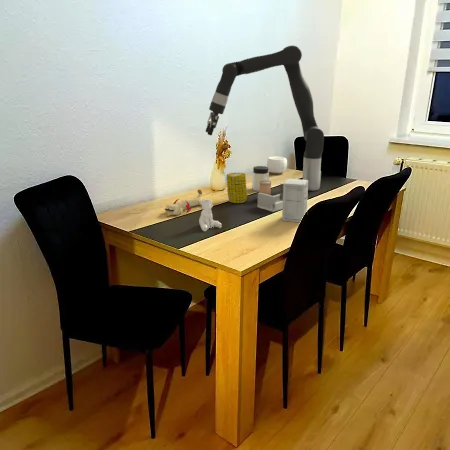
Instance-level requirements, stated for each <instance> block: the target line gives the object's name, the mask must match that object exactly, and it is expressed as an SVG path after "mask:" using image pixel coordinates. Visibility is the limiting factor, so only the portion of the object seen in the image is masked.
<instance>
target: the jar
mask: <svg viewBox="0 0 450 450" xmlns="http://www.w3.org/2000/svg"><path fill="white" fill-rule="evenodd" d="M252 169H253V170H252V179H251V181H252V182H251V184H252V186H251V188H252V190H254V191H256V192H257V191H258V192H259V189H260V184H259V182H260V181H263V180H267V181H270V180H269V179H270V172H269V169H268V167H267V166H266V165H265V166H263V165H260V166H259V165H256V166H253V168H252Z"/></svg>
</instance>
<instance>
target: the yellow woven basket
mask: <svg viewBox="0 0 450 450" xmlns="http://www.w3.org/2000/svg"><path fill="white" fill-rule="evenodd" d="M226 188H227V189H226V191H227V197H228V200H227V201H228V202H229V203H233V204H240V205H241V204H243V203H245V202H247V199H248V194H247V193H248V192H247V191H248V189H247V177H246V173H245V172H229V173H226Z"/></svg>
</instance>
